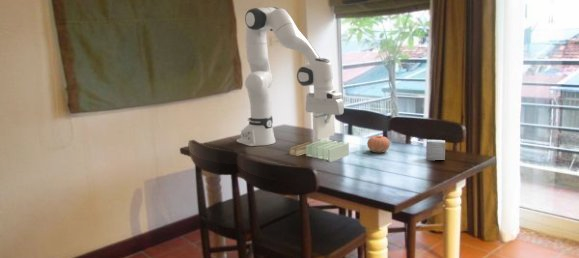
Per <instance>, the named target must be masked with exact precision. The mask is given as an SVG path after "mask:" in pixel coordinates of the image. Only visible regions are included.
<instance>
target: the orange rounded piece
mask: <svg viewBox="0 0 579 258" xmlns="http://www.w3.org/2000/svg"><path fill="white" fill-rule="evenodd" d="M366 144H367V148H368V149H369V151H371V152H373V153H380V154H381V153H384V152H386V151H388V150H389V149H390V145H391V143H390V140H389V139H388V138H387V137H386V136H382V135H375V136H374V135H373V136H371V137H370V138H369V139H368V141H367V143H366Z"/></svg>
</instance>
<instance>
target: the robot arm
mask: <svg viewBox="0 0 579 258" xmlns="http://www.w3.org/2000/svg"><path fill="white" fill-rule="evenodd" d="M244 20H245V24H246V29H245V49H246V59H247V62H248V64H249V69H250V73H249V74H248V75H247V76H246V78H245V81H244V85H245V88H246V90H247V95H248V99H249V105H250V117H249V118H247V120H248V124H247V125H245V127H243V128H242V130H241V131H240V138H237V139H236V142H237V143H239V144H242V145H246V146H249V147H254V146H268V145H273V144H275V143H276V137H275V133H274V132H275V131H274V126H273V116H272V101H271V99H270V95H269V88H270V87H272V84H273V81H274V76H273V74H272V70H271V65H270V59H269V49H268V39H267V33H268V32H269V31H271V32H273V33H274V36H275V38H276V39H277V41H278V43H279V44H280V45H281V46H282V47H284V48H286V49H291V50H294V51H297V52H299V53H300V54H302V55H303V56H304V58H305V59H306V61H307V62H308V64H307V65H303V66H301V67H300V68H298V70H297V72H296V78H297V79H296V80H297V82H298V84H300V85H301V86H303V87H304V86H305V87H309V86H310V87H311V86H313V92H309V93H307V94H306V95H305V96H306V97H305V99H306V101H305V111H306V113H312V114H313V113H323V114H326V116H327V118H326V119H325V123H329V119H330V118H331V115H334V116H340V115H341V116H342V115H343V114H344V112H345V111H344V110H345V108H344V107H345V106H344V100H343V99H342V97H343V93H342V92H340V91H338V90H336V89H334V86H333V75H334V74H333V67H332V63H331V61H330V60H329V59H327V58H321V57H320V55H319V53H318V52H317V51H316V49H315V48H314V46H313V45H312V43H311V42H310V41H309V40H308V39H307V38H306V37H305V35H304V34H302V32H301V31H300V30H299V28H298V26H297V25H296V23H295V22H294V20H293V18H292V17H291V15H290V14H289V13H288V12H287V10H286V9H284V8H280V7H271V6H269V7H268V6H264V7H254V8H250V9H249V10H247V11H246V13H245V15H244Z"/></svg>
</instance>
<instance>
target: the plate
mask: <svg viewBox="0 0 579 258" xmlns="http://www.w3.org/2000/svg"><path fill="white" fill-rule="evenodd" d="M314 118H315V140H319V139H322V138H326V137H329V138H330V137H333V136H335V133H336V131H335V128H336V127H335V115H331V118H330V119H329V123H325V119H326V118H327V116H326V114H323V113H317V114H314Z"/></svg>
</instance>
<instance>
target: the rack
mask: <svg viewBox="0 0 579 258" xmlns="http://www.w3.org/2000/svg"><path fill="white" fill-rule="evenodd" d="M349 144H350V143H349V142H346V143H344V142H343V141H340V142H338V140H335V141H333V140H332V139H329V141H327V139H325V140H321V141H318V142H315V143H313V142H312V144H309V145H306V153H305V156H306V157H312V158H316V159H320V160H327V161H326V162H327V163H332V162H335V161H337V160H340V159H342V158H345V157H347V156H349V155H350V154H349V153H350V151H349V150H350V149H349V148H350V145H349Z"/></svg>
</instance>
